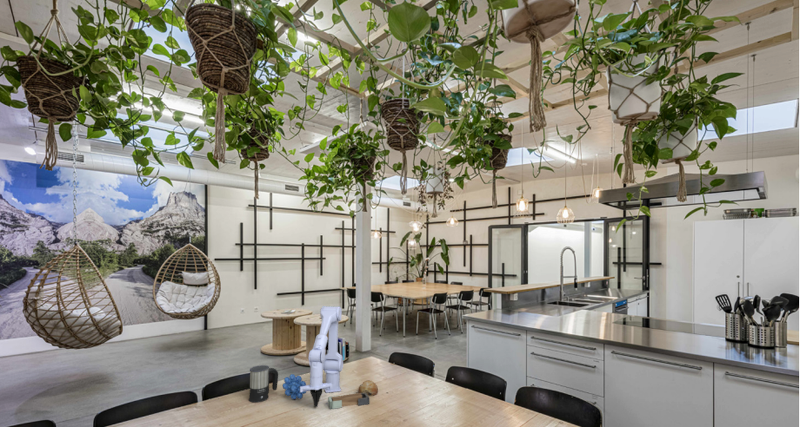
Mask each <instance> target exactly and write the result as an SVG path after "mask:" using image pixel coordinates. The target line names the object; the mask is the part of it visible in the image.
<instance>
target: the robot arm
mask: <svg viewBox="0 0 800 427" xmlns="http://www.w3.org/2000/svg"><path fill="white" fill-rule="evenodd" d="M342 311H343V310H342V307H341V306H335V305H334V306H330V305H329V306H328V305H322V307H321V308H320V311H319V312H320V319H321V324H320V328H319V334H317V335H316V336H315V339H314V344H313V346H312V349H310V350H309V353H308V362H309V363H308V364H309V367H310V373H309V384H306V386H301V387H300V392H303V391H306V392H310V395H311V397H312V400H313V407H314V408H317V407H318V406H319V405H318V404H319V402H320V399H321V397H322V394H323V390H324V391H325V393H326V394H327V393H334V392H335V393H336V392H341V391H342V389H341V386H340V383H341V381H340V379H341V378H340V377H341V375H340V374H341V373H340V372H342V371H343V368H344V360H343V355H342V354H340V353H339V351H338V345H339V344H338V342H339V340H338V339H339V322H341V321H342ZM327 335H328V336H327ZM327 345H328V347H327ZM326 347H327V348H328V349H327V350H328V353H326V352H327V350H326ZM323 371H324V372H323ZM323 373H325V382H324V383H323V381H324V380H323V375H324V374H323Z"/></svg>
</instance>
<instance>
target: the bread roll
mask: <svg viewBox="0 0 800 427" xmlns="http://www.w3.org/2000/svg"><path fill="white" fill-rule="evenodd" d="M357 390H358V391H357V392H358V393H367V395H368V396H369V397H373V396H376V395H377V394H378V392H379V388H378V385H377V384H376V383H375V382H374V381H372V380H364V381H363V382H362V383H361V384H360V385H359V386H358V388H357Z"/></svg>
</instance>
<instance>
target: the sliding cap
mask: <svg viewBox="0 0 800 427" xmlns="http://www.w3.org/2000/svg"><path fill="white" fill-rule="evenodd" d="M336 396H337V395H333V396H328V397H327V405H328V407H329V409H330V410H334V409H342V408H343V407H342V400H339V401H332V397H336Z"/></svg>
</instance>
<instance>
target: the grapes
mask: <svg viewBox="0 0 800 427" xmlns="http://www.w3.org/2000/svg"><path fill="white" fill-rule="evenodd" d="M283 379H284V383H282V389H284V390H285V391H284V394H285V396H287V397H290V399H291V400H296V399H298V400H299V399H302V398H303V395H305V394H306V393H307V391H303V392H300V387H301V386H306V385H307V382H306V381H305V380H302V379H303V378H302V377H301V375H295V374H293V373H292V374H290V375H289V376H285V377H284V378H283Z"/></svg>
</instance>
